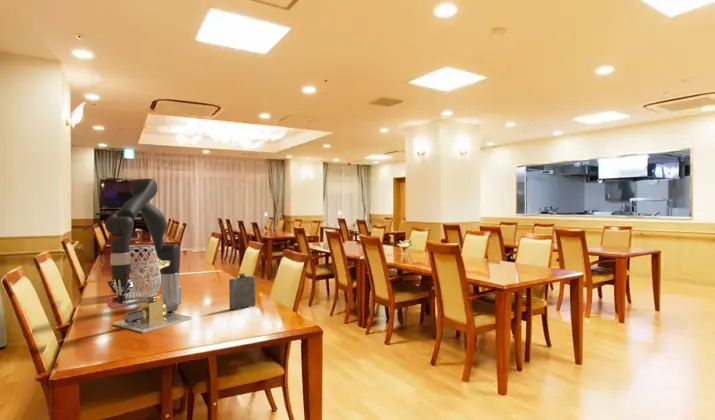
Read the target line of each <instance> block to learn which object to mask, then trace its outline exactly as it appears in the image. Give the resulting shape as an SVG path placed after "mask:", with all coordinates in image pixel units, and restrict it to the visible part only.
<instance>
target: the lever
mask: <svg viewBox="0 0 715 420" xmlns="http://www.w3.org/2000/svg"><path fill="white" fill-rule="evenodd" d="M156 299H157V296H156V295H154V296H151V297H146V298H141V299H138V300H134V301H128V302H125V303H124V304H118V296H117V295H114V296H109V297H107V308H109V309H111V310H115V309H120V308H124V307H129V306H135V305H140V303H144V302H151V301H156Z"/></svg>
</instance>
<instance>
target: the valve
mask: <svg viewBox="0 0 715 420" xmlns="http://www.w3.org/2000/svg"><path fill="white" fill-rule="evenodd" d="M177 311H178V304H177V303H176V302H172V303H168V304H164V303H163V301H162V300H161V299H157V298H156V301H151V302H144V303H140V304H139V307H138V308H137V309H136V310H133V311H130V312H129V311H128V312H125V313H124V314H123V320H117V321H114V322H113V326H116V327H119V328H120V327H121V328H125V329H128V330H132V331H135V332H140V333H147V332H150V331H153V330H154V331H155V330H157V329H161V328H165V327H169V326H173V325H175V324H179V323H182V322H186V321H189V320H192V316H190V315H184V314H179V313H176V312H177Z"/></svg>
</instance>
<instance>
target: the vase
mask: <svg viewBox="0 0 715 420" xmlns="http://www.w3.org/2000/svg"><path fill="white" fill-rule="evenodd" d="M145 249H146V251H145ZM135 250H139V251H137V252H136V251H135ZM140 253H141V254H142V255H143V256H140ZM148 253H149V254H150V256H149V254H148ZM131 254H133V255H134V256H133V257H132V256H131ZM130 257H131V273H130V274H129V277H130V281H131V282H134V285H133V287H132V289H131V290H130V292H129V293H127V294H126V295H125V300H130V299H131V300H134V299H135V300H136V299H138V300H139V299H147V298H148V297H152V296H156V295H157V294H158V293H159V291H160V289H161V269H160V267H159V263H158V259H157V258H158V257H157V253H156V249H155V246H154V244H133V245H132V244H131V245H130ZM144 259H146V260H144ZM135 260H137V262H136V261H135ZM150 269H151V271H150ZM141 270H142V273H141V272H140V271H141ZM147 288H148V289H147Z"/></svg>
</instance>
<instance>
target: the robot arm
mask: <svg viewBox="0 0 715 420" xmlns="http://www.w3.org/2000/svg"><path fill="white" fill-rule="evenodd" d="M129 189H130V193H131V195H132V197H131V198H130V199H128V200H126V201H125V202H124V203H123V205H122V206H121V207H120V209H119V210H116V212H114V213H112V214H111V215H110V216H109V217H107V219H106V221H105V225H104V227H105V230H106V231H107V232H108V233H110V234H121V236H120V237H119V238H113V239H112V240H111V241H110V275H111V276H112V277H111V280H110V281H108V282H107V284H108V286H109V288H110V289H111V291H112V293H113V294H116V296H118V304H124V303H126V299H125V295H126V294H127V293H129V292H130V290H131V289H132V287H133V285H135V284H134V282H131V281H130V276H129V274H130V275H131V274H132V268H131V264H132V263H131V258H132V256H131V254H130V248H131V247H130V246H131V245H130V243H131V239H132V238H131V237H132V234H133V232H134V231H133V230H134V226H135V222H134V221H135V219H136V218H137V216H138V214H139V213H140V212H141V214H142V218H143V220H144V223H145V225H146V228H147V230H148V232H149V234H150V237H151V239H152V242H153V245H154V246H155V249H156V257H157V258H158V259H159V260H160V261H163V262H164V261H165V262H168V261H169V262H170V263H169V264H168V265H166V266H164V267H162V268H160V274H161V284H160V298H161V299H160V300H162V301H163V303H164V304H168V303H172V302H176V303H177V305H179V304H182V286H181V285H180V269H181V268H180V266H181V248H180V245H179V244H178V243H165V241H164V235H165V233H166V231H167V227H168V226H167V224H168V223H167V221H166V219H165V215H164V214H163V212H162V211H161V210H159V209H158V207H156V206H155V205H153V204H152V203H151V202H150V201H151V200H152V199H153V198H155V196H156V195H157V193H158V183H157V182H156V180H155V179H154V178H138V179H137V178H136V179H132V180H131V181H130V183H129ZM130 256H131V257H130Z"/></svg>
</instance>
